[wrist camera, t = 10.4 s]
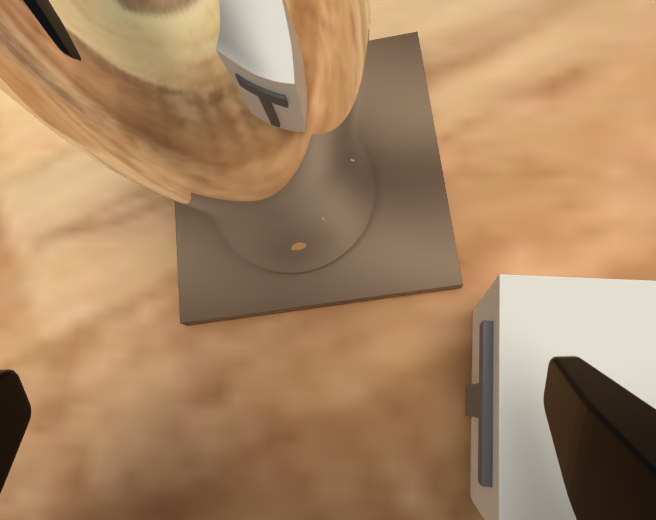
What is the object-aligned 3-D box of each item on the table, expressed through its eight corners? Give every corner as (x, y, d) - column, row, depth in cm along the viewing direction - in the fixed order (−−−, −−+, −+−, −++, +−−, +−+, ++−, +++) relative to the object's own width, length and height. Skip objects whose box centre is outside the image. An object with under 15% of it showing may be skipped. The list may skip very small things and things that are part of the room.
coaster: (461, 287, 19) (462, 284, 19) (186, 325, 20) (180, 323, 20) (416, 41, 22) (417, 31, 21) (175, 86, 23) (169, 78, 22)
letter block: (461, 495, 18) (486, 541, 12) (465, 311, 19) (489, 273, 14) (672, 517, 17) (807, 578, 11) (659, 321, 18) (774, 285, 13)
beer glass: (187, 276, 20) (-359, -27, 6) (220, 104, 22) (-146, -472, 7) (377, 296, 19) (281, -19, 5) (398, 113, 21) (375, -548, 6)
